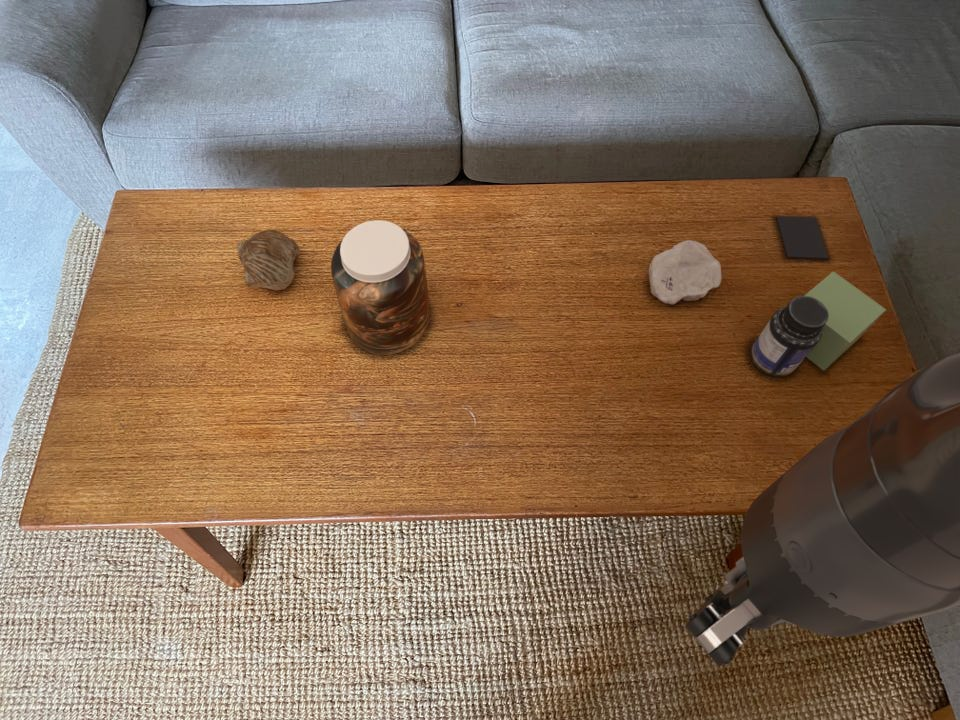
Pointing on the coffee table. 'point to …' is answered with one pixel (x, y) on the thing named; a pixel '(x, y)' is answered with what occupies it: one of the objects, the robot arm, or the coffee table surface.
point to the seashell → (268, 259)
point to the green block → (841, 318)
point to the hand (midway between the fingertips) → (727, 604)
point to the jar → (381, 287)
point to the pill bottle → (789, 336)
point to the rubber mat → (802, 237)
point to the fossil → (684, 273)
